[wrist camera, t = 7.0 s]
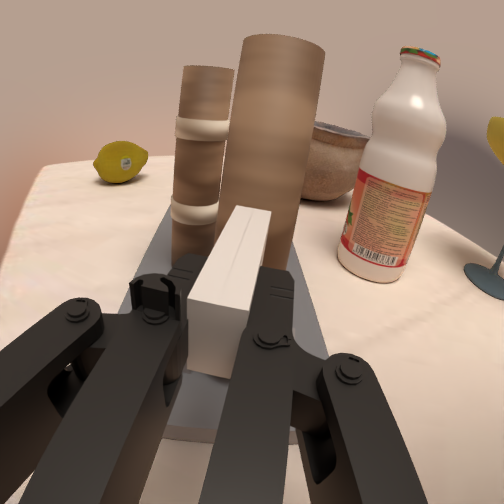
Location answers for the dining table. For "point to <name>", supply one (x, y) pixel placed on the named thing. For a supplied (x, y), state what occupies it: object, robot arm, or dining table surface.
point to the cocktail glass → (500, 140)
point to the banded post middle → (199, 158)
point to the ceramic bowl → (332, 162)
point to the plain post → (271, 135)
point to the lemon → (120, 161)
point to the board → (209, 386)
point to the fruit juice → (395, 172)
